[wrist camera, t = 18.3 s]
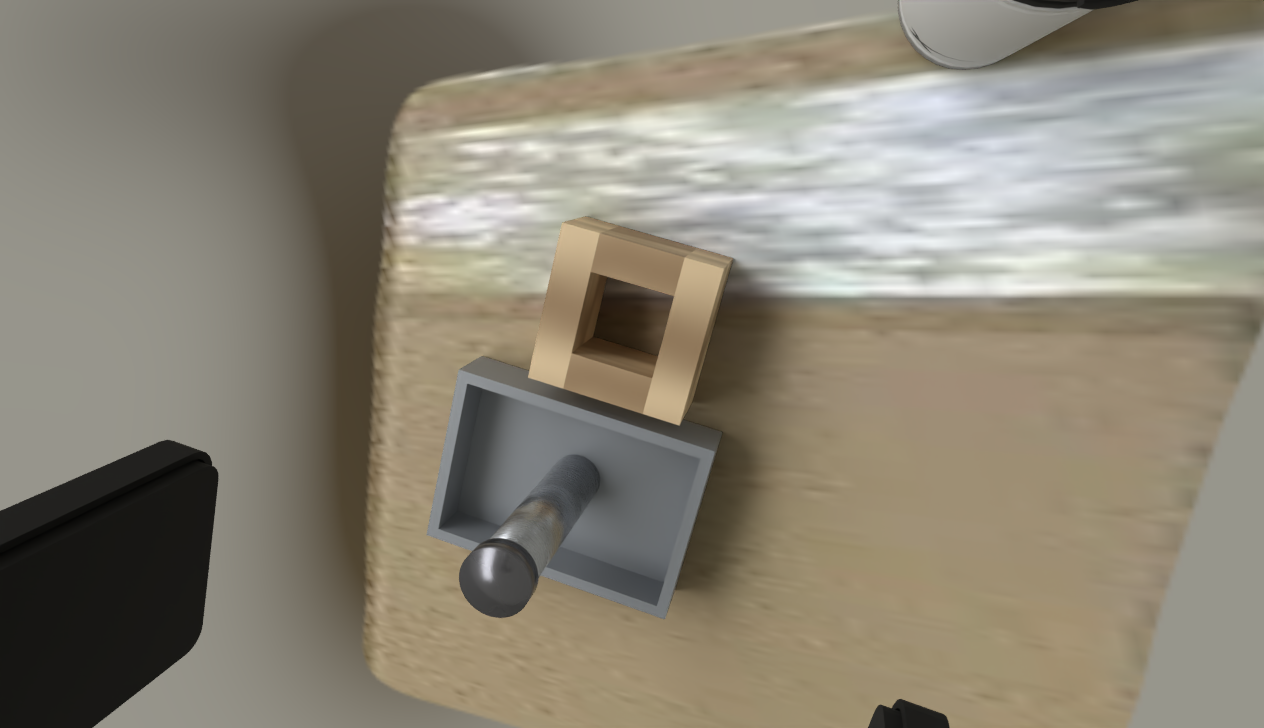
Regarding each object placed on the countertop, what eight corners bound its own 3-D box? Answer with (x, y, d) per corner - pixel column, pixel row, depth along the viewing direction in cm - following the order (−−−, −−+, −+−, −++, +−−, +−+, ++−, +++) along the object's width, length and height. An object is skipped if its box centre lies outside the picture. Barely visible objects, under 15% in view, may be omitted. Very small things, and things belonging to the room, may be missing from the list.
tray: (482, 355, 47) (458, 369, 44) (722, 432, 45) (715, 451, 42) (450, 512, 50) (426, 534, 47) (674, 590, 48) (664, 619, 45)
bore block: (585, 216, 43) (562, 222, 40) (733, 258, 42) (723, 268, 38) (552, 358, 46) (528, 377, 42) (692, 402, 45) (679, 425, 41)
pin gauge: (555, 443, 46) (466, 538, 35) (609, 461, 46) (537, 563, 34) (543, 494, 47) (452, 602, 36) (596, 512, 47) (521, 627, 35)
